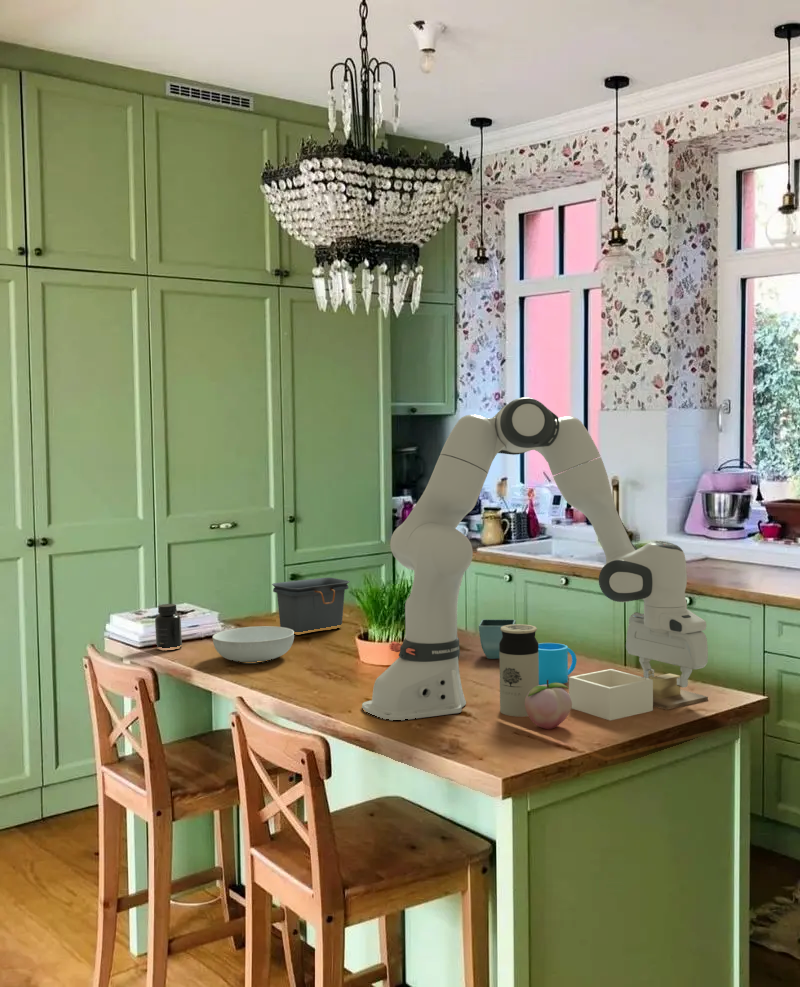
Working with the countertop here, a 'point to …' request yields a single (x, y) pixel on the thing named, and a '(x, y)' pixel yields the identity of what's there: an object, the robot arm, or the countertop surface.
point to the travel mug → (517, 667)
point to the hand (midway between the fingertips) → (665, 682)
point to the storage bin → (310, 603)
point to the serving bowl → (253, 643)
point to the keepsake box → (611, 694)
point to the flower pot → (492, 635)
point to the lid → (672, 693)
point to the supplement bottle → (168, 627)
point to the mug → (554, 663)
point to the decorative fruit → (548, 705)
